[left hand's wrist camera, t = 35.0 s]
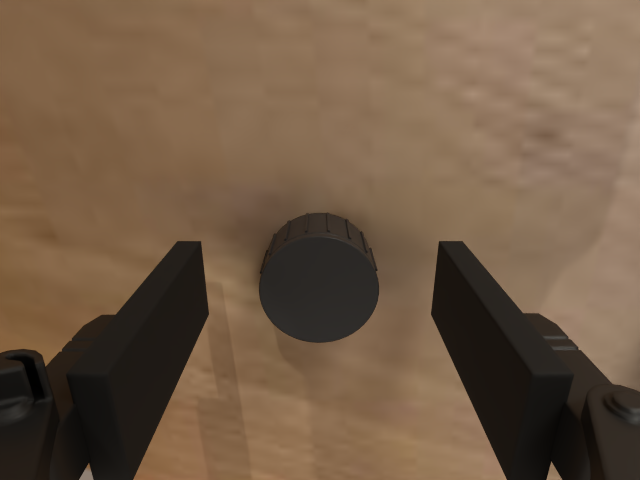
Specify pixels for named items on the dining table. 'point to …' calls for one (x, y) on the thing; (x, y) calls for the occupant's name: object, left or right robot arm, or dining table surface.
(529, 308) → the dining table surface
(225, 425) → the dining table surface
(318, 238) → the cap
